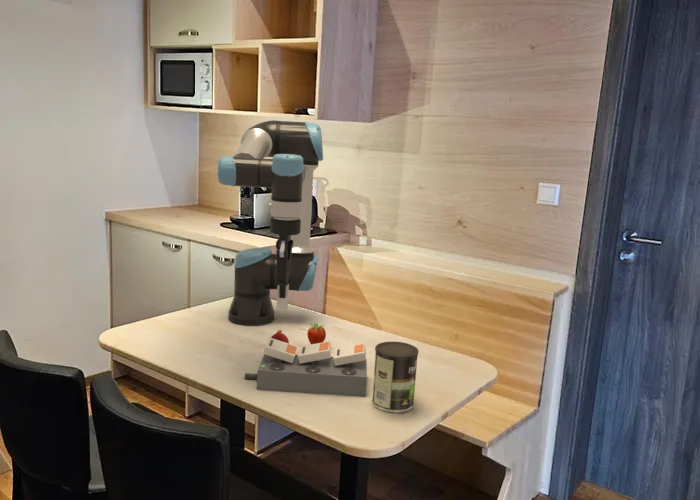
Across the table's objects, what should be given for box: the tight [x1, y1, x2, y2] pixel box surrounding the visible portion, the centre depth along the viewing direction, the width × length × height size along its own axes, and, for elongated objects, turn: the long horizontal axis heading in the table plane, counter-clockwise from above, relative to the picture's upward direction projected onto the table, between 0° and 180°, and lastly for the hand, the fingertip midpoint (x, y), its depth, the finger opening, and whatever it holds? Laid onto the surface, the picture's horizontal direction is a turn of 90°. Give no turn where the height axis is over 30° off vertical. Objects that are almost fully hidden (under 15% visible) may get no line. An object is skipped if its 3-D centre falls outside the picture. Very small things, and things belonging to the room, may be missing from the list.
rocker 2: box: [297, 340, 333, 364], centre depth 163 cm, size 7×8×2 cm
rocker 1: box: [262, 336, 299, 363], centre depth 163 cm, size 7×8×2 cm
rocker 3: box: [333, 342, 367, 366], centre depth 163 cm, size 7×8×2 cm
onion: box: [270, 329, 290, 344], centre depth 177 cm, size 6×6×8 cm
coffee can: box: [371, 341, 419, 414], centre depth 152 cm, size 10×10×14 cm
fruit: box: [307, 322, 327, 345], centre depth 186 cm, size 5×5×8 cm
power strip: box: [244, 354, 368, 397], centre depth 162 cm, size 12×31×6 cm, turn 89°
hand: (282, 308), depth 161 cm, fingers closed
